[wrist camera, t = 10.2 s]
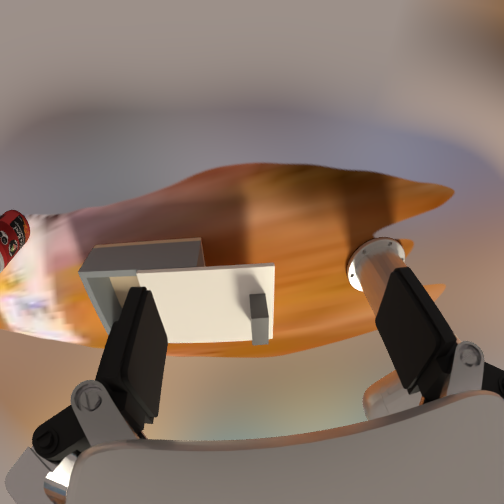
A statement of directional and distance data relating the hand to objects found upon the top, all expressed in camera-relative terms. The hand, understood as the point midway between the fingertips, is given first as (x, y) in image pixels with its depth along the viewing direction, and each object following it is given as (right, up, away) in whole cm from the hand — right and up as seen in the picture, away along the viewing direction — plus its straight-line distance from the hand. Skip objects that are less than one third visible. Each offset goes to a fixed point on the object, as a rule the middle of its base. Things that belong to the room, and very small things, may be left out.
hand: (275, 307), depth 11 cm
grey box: (-19, -3, +41) cm, 45 cm away
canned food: (-48, +7, +32) cm, 58 cm away
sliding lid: (-8, -7, +34) cm, 36 cm away
